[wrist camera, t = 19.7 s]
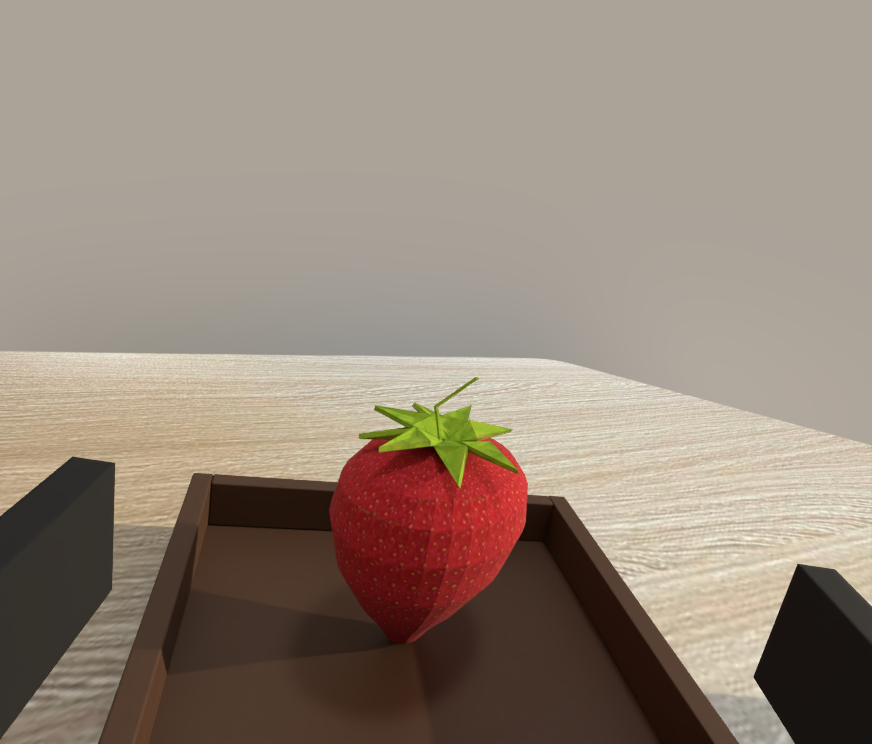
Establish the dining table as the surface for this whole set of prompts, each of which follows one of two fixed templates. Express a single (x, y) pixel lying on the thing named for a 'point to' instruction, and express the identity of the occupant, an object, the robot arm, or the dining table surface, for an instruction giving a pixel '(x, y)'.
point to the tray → (382, 658)
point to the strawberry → (426, 517)
